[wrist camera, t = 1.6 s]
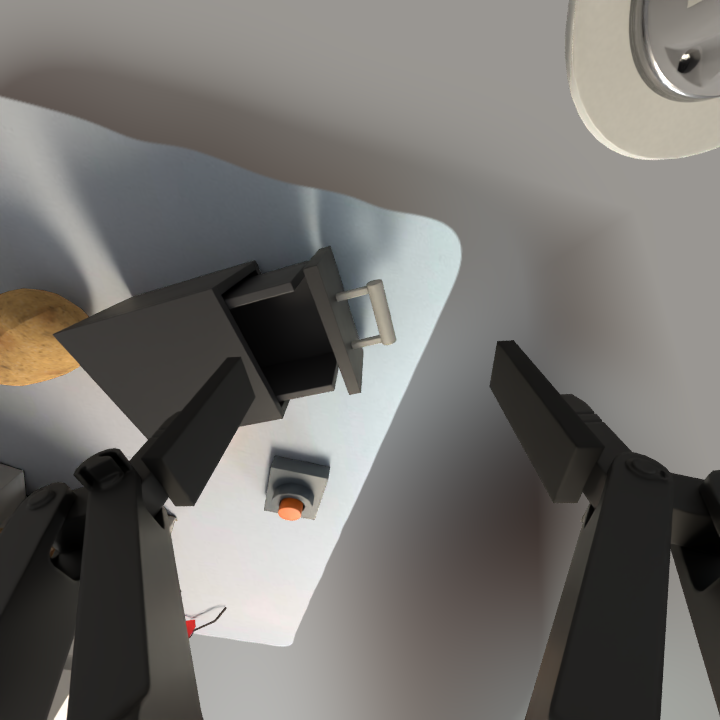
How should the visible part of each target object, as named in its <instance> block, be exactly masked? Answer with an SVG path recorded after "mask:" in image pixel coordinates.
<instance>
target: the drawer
mask: <svg viewBox="0 0 720 720" xmlns="http://www.w3.org/2000/svg"><path fill="white" fill-rule="evenodd" d="M368 292H369V296H370V300H371V303H372V307H373V311H374V315H375V318H376V322H377V326H378V329H379V333H380V335H378V336H373V337H369V338H365V339H359V336H358V333H357V330H356V327H355V323H354V320H353V317H352V314H351V311H350V307H349V304H348V301H347V299H350V298H354V297H358V296H362V295H366V294H368ZM221 296H222V298H223V300H224V301H225V303H226V305H227V307H228V309H229V311H230V313H231V314H232V316H233V318H234V320H235V322H236V324H237V326H238V327H239V329H240V331H241V333H242V335H243V337H244V339H245V340H246V342H247V344H248V346H249V348H250V350H251V352H252V353H253V355H254V357H255V359H256V361H257V363H258V365H259V366H260V368H261V370H262V372H263V374H264V376H265V378H266V379H267V381H268V383H269V385H270V387H271V389H272V391H273V392H274V394H275V396H276V398H277V400H278V402H280V401H285V400H289V399H294V398H299V397H304V396H309V395H314V394H319V393H324V392H329V391H334V389H335V384H336V378H337V373H338V368H339V369H340V371H341V374H342V377H343V379H344V382H345V385H346V387H347V390H348V393H349V395H351V394H356V393H361V385H362V368H363V349H362V347H365V346H369V345H374V344H378V343H382V344H384V345H391V344H393V343H395V342H396V336H395V332H394V328H393V324H392V320H391V315H390V311H389V307H388V303H387V299H386V295H385V290H384V286H383V282H382V280H380V279H378V280H373V281H370V282H369V283H367V286H364V287H360V288H356V289H352V290H349V291H344V288H343V285H342V282H341V278H340V275H339V272H338V269H337V266H336V262H335V259H334V256H333V253H332V250H331V246H328V247H325V248H321V249H319V250H318V251H317V252H316V254H315V255H314V256H313V257H312V258H311V260H310V261H305V262H302V263H298V264H295V265H291V266H288V267H284V268H281V269H277V270H274V271H270V272H267V273H264V274H260V275H257V276H253V277H250V278H246V279H243V280H241V281H239V282H238V283H237V284H235V285H234V286H232V287H231V288H230V289H228V290H227V291H226V292H224V293H223V294H221Z"/></svg>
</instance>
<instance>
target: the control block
mask: <svg viewBox="0 0 720 720" xmlns="http://www.w3.org/2000/svg"><path fill="white" fill-rule="evenodd" d="M329 470H330V467H326V466H322V465H317V464H312V463H307V462H302V461H297V460H293V459H288V458H283V457H278V456H275V457H274V460H273V462H272V465H271V469H270V475H269V481H268V488H267V494H266V501H265V507H264V511H270V512H275V513H278V511H279V507H280V504H281V501H282V500H283V499H284V498H294V499H298V500H299V501H301V502H302V503H303V509H302V514H301V517H302V518H307V519H312V520H315V517H316V514H317V511H318V508H319V505H320V502H321V499H322V496H323V493H324V490H325V487H326V484H327V481H328V477H329Z"/></svg>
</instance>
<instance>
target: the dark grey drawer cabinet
mask: <svg viewBox="0 0 720 720" xmlns="http://www.w3.org/2000/svg"><path fill="white" fill-rule="evenodd" d="M260 274H261V272H260V270H259V267H258V265H257V263H256V261H255V260H254V261H251V262H247V263H244V264H241V265H237V266H234V267H231V268H227V269H224V270H221V271H217V272H214V273H210V274H207V275H204V276H200V277H197V278H194V279H190V280H187V281H184V282H180V283H177V284H174V285H170V286H167V287H164V288H160V289H157V290H154V291H150V292H147V293H143V294H140V295H137V296H133V297H131V298H129V299H127V300H124V301H122V302H120V303H118V304H116V305H114V306H112V307H109V308H107V309H105V310H103V311H101V312H99V313H97V314H95V315H92V316H90V317H88V318H86V319H84V320H82V321H80V322H78V323H75V324H73V325H71V326H69V327H67V328H65V329H63V330H61V331H58V332H56V333H54V334H52V335H53V336H54V337H55V338H56V339H57V340H58V342H59V343H60V344H61V345H62V346H63V347H64V348H65V349H66V350H67V351H68V352H69V354H70V355H71V356H72V357H73V358H74V359H75V360H76V361H77V362H78V363H79V365H80V366H81V367H82V368H83V369H84V370H85V371H86V372H87V373H88V374H89V376H90V377H91V378H92V379H93V380H94V381H95V382H96V383H97V384H98V385H99V386H100V388H101V389H102V390H103V391H104V392H105V393H106V394H107V395H108V396H109V397H110V399H111V400H112V401H113V402H114V403H115V404H116V405H117V406H118V407H119V408H120V409H121V411H122V412H123V413H124V414H125V415H126V416H127V417H128V418H129V419H130V420H131V422H132V423H133V424H134V425H135V426H136V427H137V428H138V429H139V430H140V431H141V432H142V434H143V435H144V436H145V437H146V438H147V439H149V438H152V435H153V434H154V433H155V432H156V430H158V428H159V427H160V426H161V425H162V424H163V423H164V422H165V420H166V419H168V418H169V417H170V416H172V415H173V414H175V413H176V412H177V411H182V410H183V408H184V407H185V406H186V405H187V404H188V403H189V401H190V400H191V399H192V398H193V397H194V396H195V394H196V393H197V392H198V391H199V390H200V389H201V387H202V386H203V385H204V384H205V383H206V382H207V380H208V379H209V378H210V377H211V376H212V375H213V373H214V372H215V371H216V370H217V369H218V368H219V366H220V365H221V364H222V363H223V362H224V361H225V359H226V358H227V357H241V358H242V361H243V363H244V366H245V369H246V372H247V374H248V377H249V380H250V383H251V386H252V388H253V391H254V394H255V399H254V401H253V403H252V405H251V406H250V408H249V410H248V412H247V413H246V415H245V417H244V419H243V420H242V422H241V424H240V426H245V425H251V424H256V423H261V422H267V421H272V420H277V419H282V418H283V416H284V414H285V411H286V408H287V406H288V403H289V401H290V399H289V400H285V401H280V402H278V400H277V398H276V396H275V394H274V392H273V391H272V389H271V387H270V385H269V383H268V381H267V379H266V378H265V376H264V374H263V372H262V370H261V368H260V366H259V365H258V363H257V361H256V359H255V357H254V355H253V353H252V352H251V350H250V348H249V346H248V344H247V342H246V340H245V339H244V337H243V335H242V333H241V331H240V329H239V327H238V326H237V324H236V322H235V320H234V318H233V316H232V314H231V313H230V311H229V309H228V307H227V305H226V303H225V301H224V300H223V298H222V296H221V294H223V293H224V292H226V291H227V290H228V289H230V288H231V287H232V286H234V285H235V284H237V283H238V282H239V281H241V280H243V279H246V278H250V277H253V276H257V275H260ZM240 426H239V427H240Z"/></svg>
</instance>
